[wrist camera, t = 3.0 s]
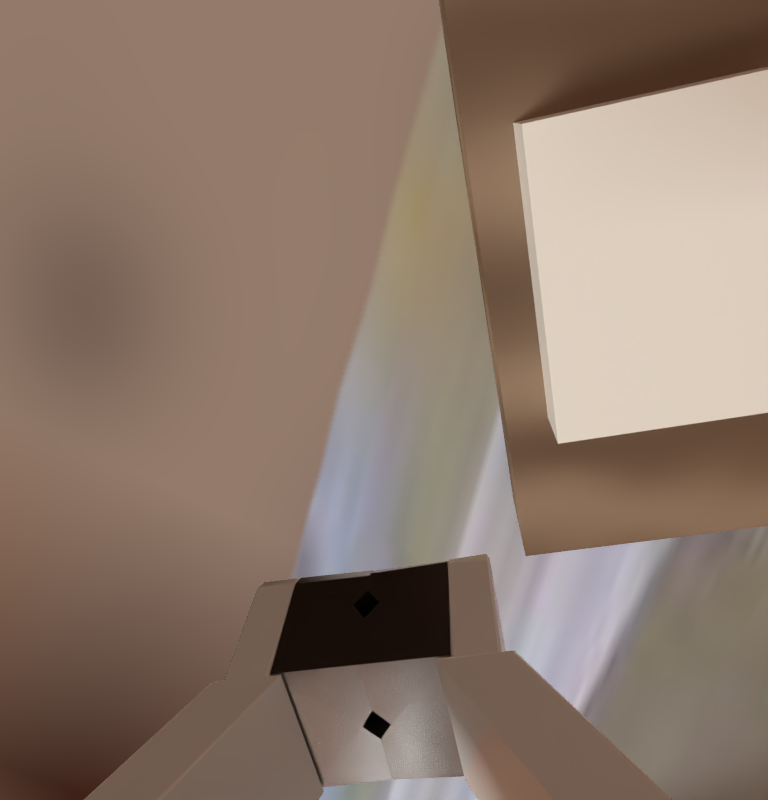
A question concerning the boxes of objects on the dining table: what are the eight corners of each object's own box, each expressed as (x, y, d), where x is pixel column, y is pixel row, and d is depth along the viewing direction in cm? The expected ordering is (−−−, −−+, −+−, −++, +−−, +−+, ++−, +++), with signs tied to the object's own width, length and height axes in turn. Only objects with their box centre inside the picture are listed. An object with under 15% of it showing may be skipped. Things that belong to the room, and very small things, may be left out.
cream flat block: (752, 386, 22) (781, 410, 20) (547, 417, 23) (558, 443, 21) (760, 67, 18) (796, 63, 16) (513, 123, 19) (521, 124, 17)
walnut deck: (793, 462, 28) (848, 515, 24) (513, 500, 29) (525, 556, 26) (826, -174, 19) (920, -241, 15) (428, -67, 21) (428, -105, 17)
